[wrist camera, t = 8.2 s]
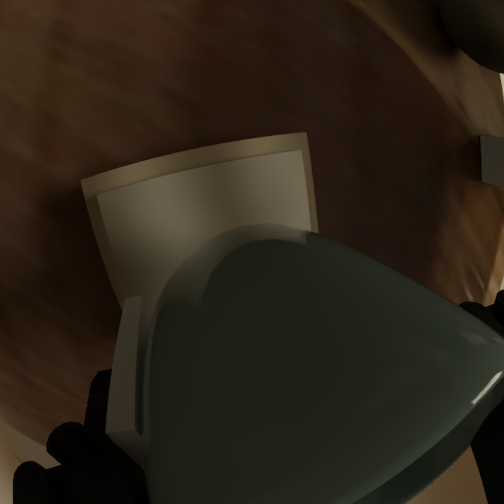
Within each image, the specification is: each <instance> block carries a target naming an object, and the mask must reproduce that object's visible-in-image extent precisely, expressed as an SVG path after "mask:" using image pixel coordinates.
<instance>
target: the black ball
mask: <svg viewBox="0 0 504 504" xmlns="http://www.w3.org/2000/svg"><path fill="white" fill-rule="evenodd" d="M439 14H440V18H441V22H442V25H443V27H444V29H445V30H446V32H447V33H448V35H449V36H450V38H451V39H452V40H453V41H454V42H455V44H456V45H457V46H458V47H459V48H460V49H461V50H462V51H463V52H464V53H465V54H466V55H468V56H469V57H470V58H471V59H473V60H474V61H475V62H477V63H478V64H480V65H481V66H483V67H485V68H487V69H490V70H493V71H495V72H498V73H502V74H504V0H439Z"/></svg>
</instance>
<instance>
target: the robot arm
mask: <svg viewBox="0 0 504 504" xmlns="http://www.w3.org/2000/svg"><path fill="white" fill-rule="evenodd" d="M459 306H460V307H462V308H463V309H465V310H467V311H468V312H470V313H471V314H473V315H474V316H476V317H478V318H479V319H480V320H482V321H483V322H485V323H486V324H488V325H489V326H491V327H492V328H493V329H495V330H496V331H497V332H499V333H500V334H501V335H502V336H504V290H501V291H499V292H498V293H497V295H496V299H495V302H494V304H492V305H490V306H487V307H484V306H483V305H481V304H479V303H476V302H463V303H461V304H459ZM150 323H151V316H150V314H149V311H148V309H147V306H146V303H145V301H144V298H143V295H139V296H135V297H132V298H128V299H125V303H124V308H123V312H122V317H121V322H120V327H119V332H118V337H117V343H116V348H115V354H114V361H113V367H112V369H108V370H103V371H98V373H97V374H96V376H95V377H94V379H93V381H92V382H91V386H90V391H89V397H88V402H87V405H88V407H87V408H86V414H85V421H84V425H82V424H81V423H79V422H67V423H63V424H61V425H60V426H58V427H57V428H55V429H54V430H53V432H52V433H51V434H50V435H49V438H48V441H47V452H48V453H49V454H50V455H51V456H52V457H53V458H55V459H56V460H57V461H58V462H59V463H60V464H62V465H59V466H56V467H52V468H49V469H45V468H43V467H42V466H41V465H39V464H38V463H36V462H34V461H27V462H24V463H22V464H21V465H20V466H18V468H17V470H16V471H15V473H14V478H13V504H149V499H148V492H147V485H146V477H145V466H144V454H143V439H142V373H143V361H144V352H145V345H146V339H147V334H148V330H149V326H150ZM471 448H472V451H473V454H474V457H475V460H476V463H477V466H478V469H479V472H480V476H481V479H482V483H483V486H484V490H485V494H486V498H487V502H488V504H504V399H503V400H502V401H501V402H500V403H499V404H498V405H497V406H496V407H495V408H494V409H493V410H492V411H491V413H490V414H489V415H488V416H487V417H486V419H485V420H484V421H483V423H482V424H481V426H480V428H479V429H478V431H477V433H476V434H475V436H474V438H473V440H472V442H471Z"/></svg>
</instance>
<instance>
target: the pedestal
mask: <svg viewBox="0 0 504 504" xmlns="http://www.w3.org/2000/svg"><path fill="white" fill-rule="evenodd" d="M81 185H82V189H83V193H84V197H85V201H86V205H87V209H88V213H89V217H90V220H91V224H92V227H93V231H94V234H95V237H96V241H97V244H98V247H99V250H100V253H101V256H102V259H103V262H104V265H105V268H106V271H107V273H108V276H109V279H110V282H111V284H112V287H113V290H114V292H115V295H116V297H117V300H118V302H119V305H120V307H121V309H122V312H123V308H124V303H125V299H128V298H132V297H135V296H139V295H143V298H144V301H145V303H146V306H147V309H148V311H149V314H150V316H151V319H152V316H153V312H154V309H155V306H156V303H157V300H158V298H159V296H160V294H161V292H162V290H163V288H164V286H165V285H166V283H167V281H168V279H169V278H170V276H171V274H172V273H173V272H174V271H175V269H176V268H177V267H178V266H179V265H180V263H181V262H182V261H183V260H184V259H185V258H186V257H187V256H188V255H189V254H190V253H192V252H193V251H194V250H195V249H196V248H198V247H199V246H200V245H201V244H202V243H204V242H206V241H207V240H209V239H211V238H213V237H214V236H216V235H218V234H220V233H221V232H224V231H227V230H230V229H232V228H235V227H238V226H241V225H247V224H256V223H275V224H282V225H289V226H294V227H299V228H303V229H306V230H309V231H312V232H315V233H318V225H317V215H316V205H315V195H314V186H313V178H312V170H311V162H310V155H309V148H308V141H307V134H306V132H304V133H294V134H285V135H276V136H268V137H261V138H254V139H247V140H240V141H234V142H228V143H223V144H217V145H212V146H206V147H201V148H197V149H192V150H187V151H182V152H178V153H174V154H169V155H165V156H161V157H157V158H153V159H149V160H145V161H142V162H138V163H134V164H131V165H127V166H124V167H120V168H117V169H114V170H110V171H107V172H104V173H101V174H98V175H95V176H92V177H89V178H86V179H83V180H81Z"/></svg>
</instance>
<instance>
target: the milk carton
mask: <svg viewBox="0 0 504 504" xmlns="http://www.w3.org/2000/svg"><path fill="white" fill-rule="evenodd" d="M480 143H481V165H482V182H485V183H489V184H493V185H497V186H501V187H504V138H503V137H495V136H486V135H480Z"/></svg>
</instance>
